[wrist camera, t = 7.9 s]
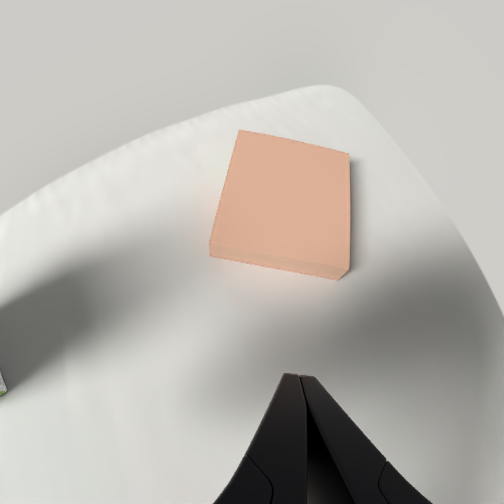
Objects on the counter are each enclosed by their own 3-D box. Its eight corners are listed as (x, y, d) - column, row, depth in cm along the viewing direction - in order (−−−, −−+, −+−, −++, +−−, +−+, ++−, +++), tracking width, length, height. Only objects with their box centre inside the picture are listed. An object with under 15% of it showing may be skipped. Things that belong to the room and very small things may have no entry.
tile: (349, 269, 18) (349, 153, 21) (209, 242, 17) (239, 129, 21) (335, 282, 20) (339, 172, 24) (209, 259, 20) (236, 151, 23)
